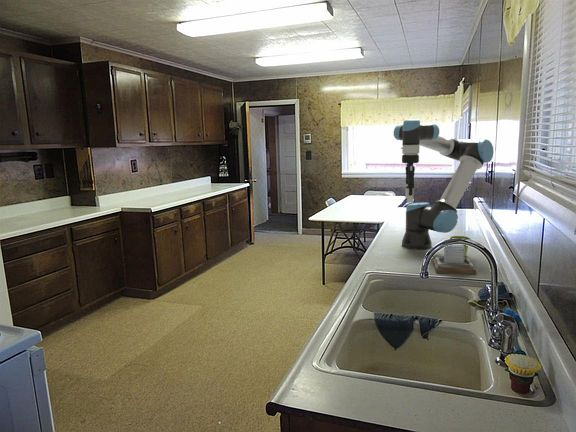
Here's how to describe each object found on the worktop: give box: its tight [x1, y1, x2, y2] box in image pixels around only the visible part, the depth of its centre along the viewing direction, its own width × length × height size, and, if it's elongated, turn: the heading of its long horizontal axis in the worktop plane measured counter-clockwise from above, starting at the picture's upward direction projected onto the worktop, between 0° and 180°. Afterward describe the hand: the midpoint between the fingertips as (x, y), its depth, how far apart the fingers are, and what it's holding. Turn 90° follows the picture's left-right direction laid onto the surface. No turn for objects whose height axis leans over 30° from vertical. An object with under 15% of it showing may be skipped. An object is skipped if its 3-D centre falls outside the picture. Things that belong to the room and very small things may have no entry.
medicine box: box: [443, 245, 465, 264], centre depth 187 cm, size 8×4×9 cm, turn 78°
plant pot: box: [449, 235, 472, 257], centre depth 206 cm, size 9×9×9 cm
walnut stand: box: [432, 256, 477, 275], centre depth 188 cm, size 14×16×4 cm
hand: (409, 200), depth 198 cm, fingers open, 13 cm apart
